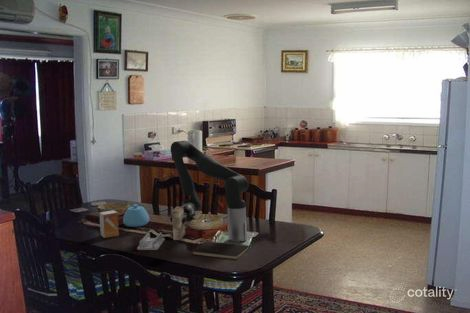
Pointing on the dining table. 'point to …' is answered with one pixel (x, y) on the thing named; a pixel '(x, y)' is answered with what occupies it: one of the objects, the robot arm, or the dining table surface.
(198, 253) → the hardcover book
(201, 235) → the dining table surface
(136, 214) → the sugar bowl
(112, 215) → the small box
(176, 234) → the beige mottled box
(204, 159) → the robot arm
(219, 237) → the dining table surface
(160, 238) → the grey plastic bag
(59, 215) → the dining table surface
